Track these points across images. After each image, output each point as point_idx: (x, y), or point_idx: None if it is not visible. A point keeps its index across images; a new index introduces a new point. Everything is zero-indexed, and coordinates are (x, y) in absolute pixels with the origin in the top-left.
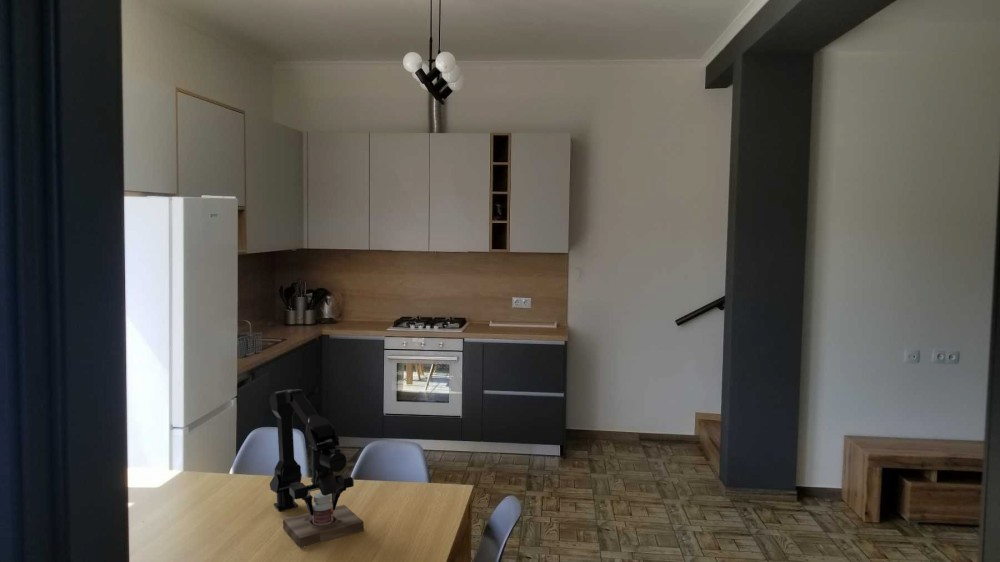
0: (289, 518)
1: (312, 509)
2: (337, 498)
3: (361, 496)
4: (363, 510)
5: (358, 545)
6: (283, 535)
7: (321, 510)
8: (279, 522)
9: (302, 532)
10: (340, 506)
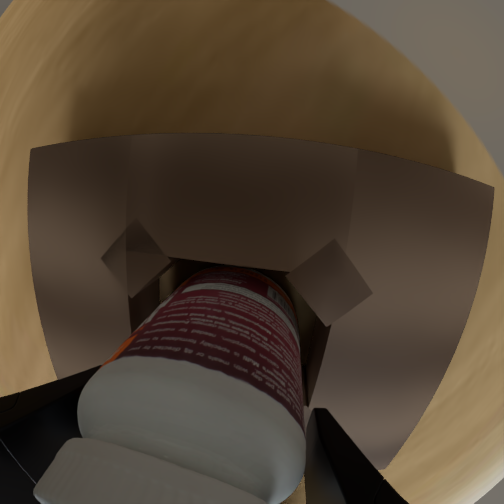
0: None
1: (330, 452)
2: (8, 403)
3: None
4: (35, 350)
5: (173, 7)
6: None
7: (246, 386)
8: None
9: (448, 263)
10: None
